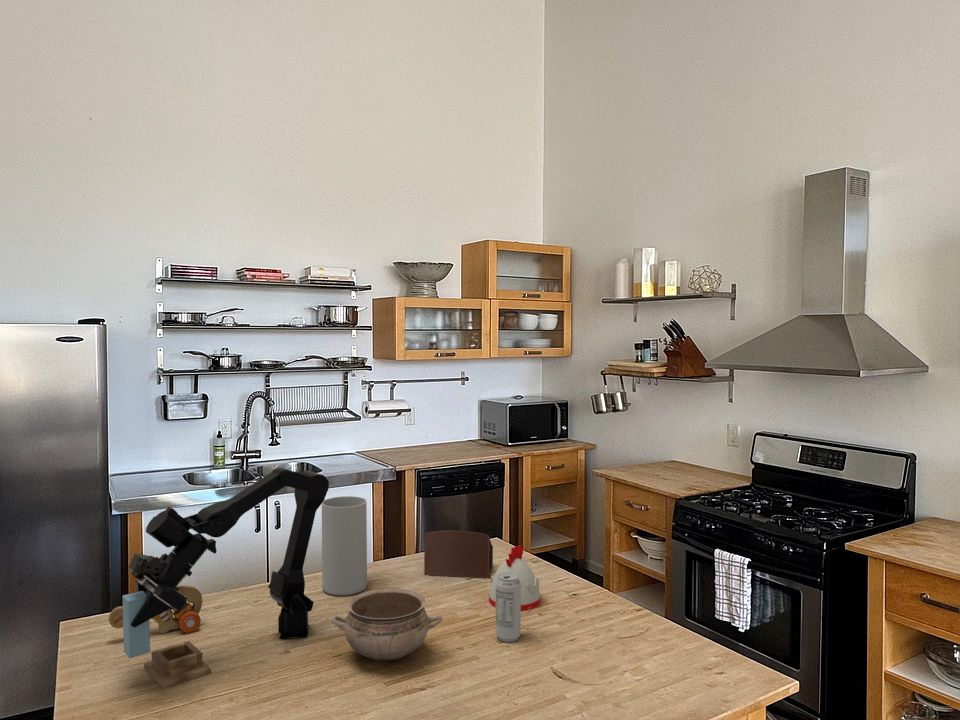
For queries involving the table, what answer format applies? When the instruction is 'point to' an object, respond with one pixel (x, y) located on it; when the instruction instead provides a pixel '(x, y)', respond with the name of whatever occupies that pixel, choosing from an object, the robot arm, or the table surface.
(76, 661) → the table surface
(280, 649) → the table surface
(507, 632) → the energy drink can
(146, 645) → the pale blue tower
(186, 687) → the table surface
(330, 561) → the cylinder vase
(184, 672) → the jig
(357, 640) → the cooking pot
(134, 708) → the table surface
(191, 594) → the toy helicopter
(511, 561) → the kitchen timer
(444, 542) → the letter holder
